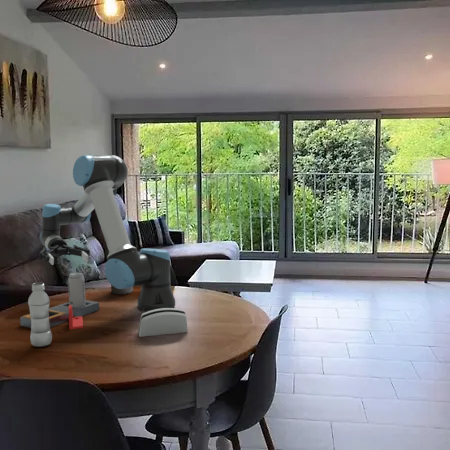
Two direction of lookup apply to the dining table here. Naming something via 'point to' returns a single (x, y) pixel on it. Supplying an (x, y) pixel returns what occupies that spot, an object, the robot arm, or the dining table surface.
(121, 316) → the dining table surface
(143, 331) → the white plastic holder
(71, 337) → the dining table surface
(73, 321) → the bracket
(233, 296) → the dining table surface
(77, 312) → the grey compartment tray
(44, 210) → the robot arm
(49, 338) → the plastic bottle
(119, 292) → the pillar candle
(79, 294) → the energy drink can
